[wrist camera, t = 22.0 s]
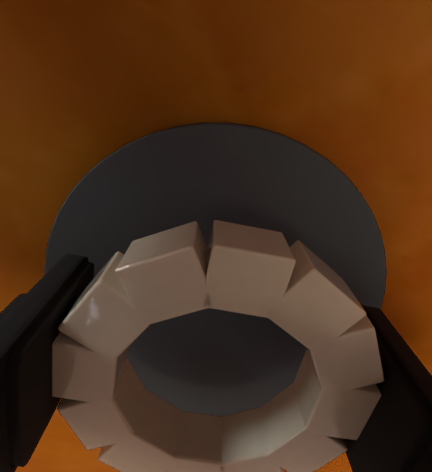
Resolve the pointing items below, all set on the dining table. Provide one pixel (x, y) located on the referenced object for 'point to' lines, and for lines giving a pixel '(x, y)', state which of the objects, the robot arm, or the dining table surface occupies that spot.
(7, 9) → the dining table surface
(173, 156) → the coaster
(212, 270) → the ring
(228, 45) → the dining table surface
